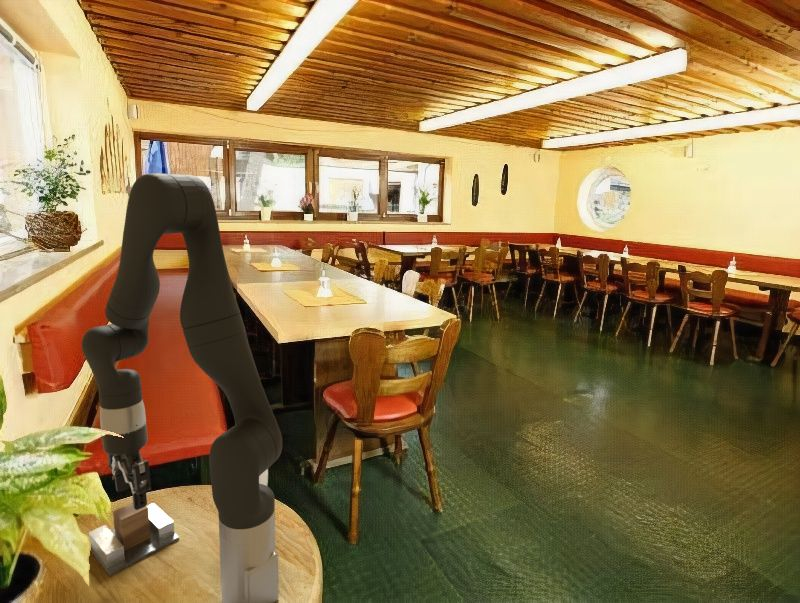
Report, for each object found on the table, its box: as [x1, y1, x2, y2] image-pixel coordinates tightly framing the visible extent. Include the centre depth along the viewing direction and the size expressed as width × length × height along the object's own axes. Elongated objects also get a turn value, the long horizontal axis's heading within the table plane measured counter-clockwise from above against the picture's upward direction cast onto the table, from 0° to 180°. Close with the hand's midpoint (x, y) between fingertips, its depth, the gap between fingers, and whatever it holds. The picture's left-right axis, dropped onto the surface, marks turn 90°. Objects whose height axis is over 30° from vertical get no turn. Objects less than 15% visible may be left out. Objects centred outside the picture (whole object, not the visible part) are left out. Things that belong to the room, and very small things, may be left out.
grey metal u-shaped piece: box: [88, 502, 180, 577], centre depth 95 cm, size 12×13×4 cm
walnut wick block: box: [112, 501, 150, 551], centre depth 94 cm, size 4×5×7 cm
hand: (131, 498), depth 93 cm, fingers open, 8 cm apart
